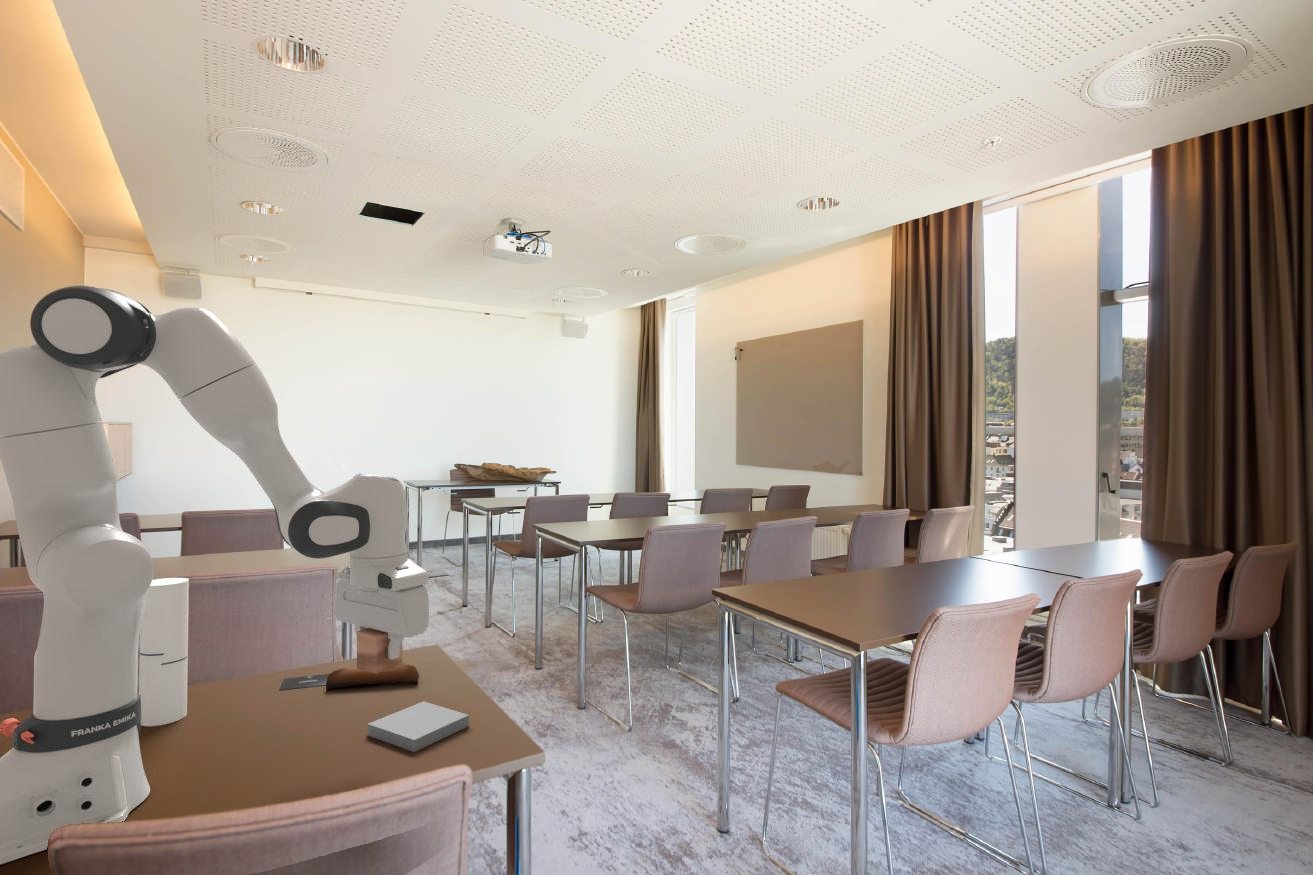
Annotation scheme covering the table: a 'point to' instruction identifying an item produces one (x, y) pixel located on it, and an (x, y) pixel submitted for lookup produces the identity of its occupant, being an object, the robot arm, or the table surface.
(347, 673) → the sunglasses case
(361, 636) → the terracotta block
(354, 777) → the table surface
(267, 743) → the table surface
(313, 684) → the solid state drive
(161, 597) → the cylindrical container
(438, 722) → the slate base
